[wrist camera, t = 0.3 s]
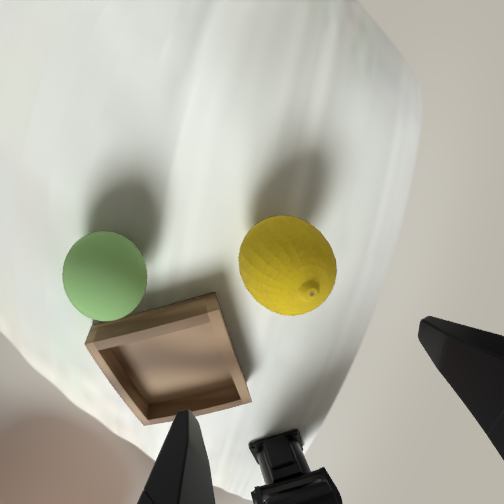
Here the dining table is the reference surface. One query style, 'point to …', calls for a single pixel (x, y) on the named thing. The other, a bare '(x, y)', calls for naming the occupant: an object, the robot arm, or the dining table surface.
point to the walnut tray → (171, 360)
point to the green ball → (104, 276)
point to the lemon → (287, 265)
